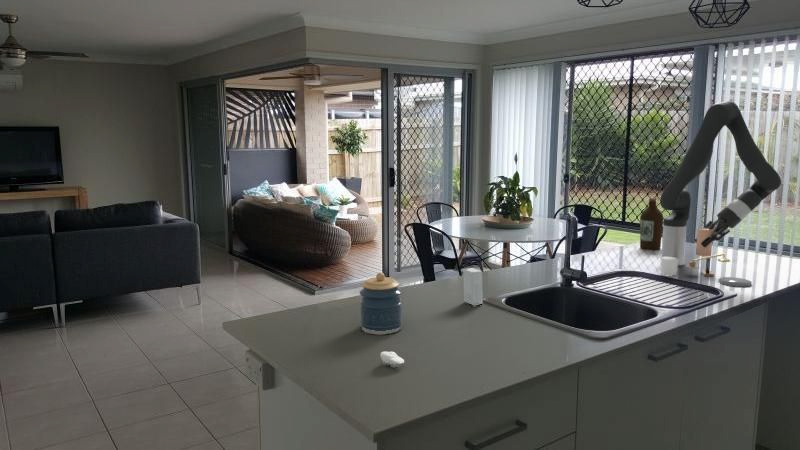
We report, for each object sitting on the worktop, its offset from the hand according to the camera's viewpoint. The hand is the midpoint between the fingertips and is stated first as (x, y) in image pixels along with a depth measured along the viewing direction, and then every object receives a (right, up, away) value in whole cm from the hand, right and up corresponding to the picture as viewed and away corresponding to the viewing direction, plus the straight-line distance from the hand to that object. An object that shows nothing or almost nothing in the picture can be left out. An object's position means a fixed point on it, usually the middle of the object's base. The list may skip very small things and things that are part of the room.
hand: (699, 244), depth 229 cm
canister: (-122, -25, -48) cm, 133 cm away
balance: (+9, -13, +12) cm, 20 cm away
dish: (+13, -15, -1) cm, 20 cm away
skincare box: (-91, -20, -23) cm, 96 cm away
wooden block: (+2, -4, +1) cm, 5 cm away
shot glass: (-6, -13, +14) cm, 20 cm away
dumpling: (-118, -29, -77) cm, 144 cm away
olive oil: (+9, -5, +67) cm, 68 cm away
